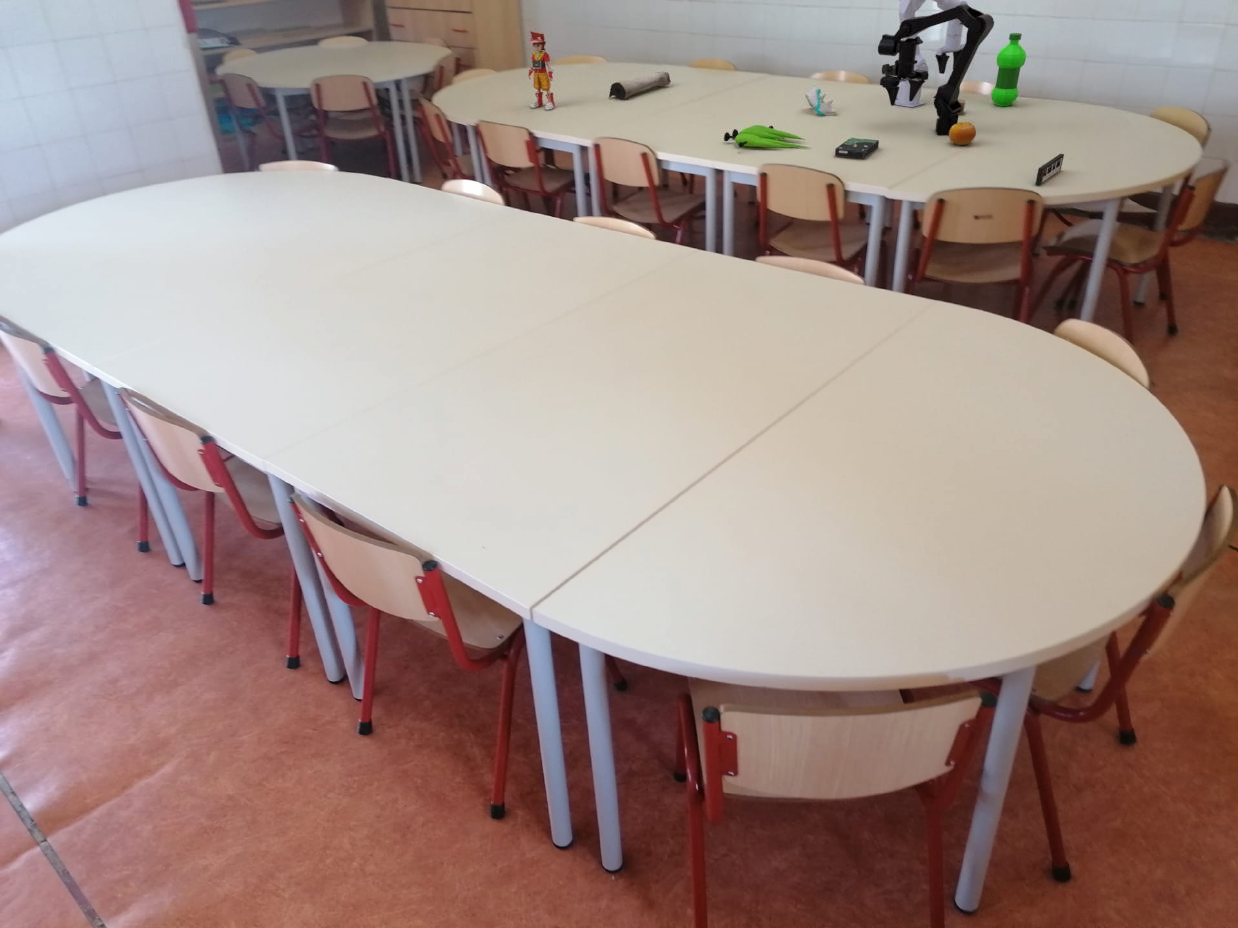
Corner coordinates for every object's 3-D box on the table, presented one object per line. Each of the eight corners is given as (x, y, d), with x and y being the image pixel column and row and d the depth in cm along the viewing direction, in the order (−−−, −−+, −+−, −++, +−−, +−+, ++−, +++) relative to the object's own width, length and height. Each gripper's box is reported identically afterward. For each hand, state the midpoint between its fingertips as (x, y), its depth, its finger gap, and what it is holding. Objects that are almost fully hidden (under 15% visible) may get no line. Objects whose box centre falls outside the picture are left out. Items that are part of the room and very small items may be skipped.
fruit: (944, 129, 311) (958, 112, 304) (966, 137, 313) (980, 120, 306) (944, 146, 307) (958, 129, 300) (966, 154, 309) (980, 138, 302)
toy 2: (713, 146, 317) (792, 161, 304) (715, 131, 314) (794, 145, 301) (747, 132, 337) (821, 146, 325) (748, 118, 334) (824, 131, 322)
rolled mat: (651, 76, 408) (662, 61, 399) (662, 93, 408) (674, 79, 400) (605, 92, 391) (616, 77, 383) (617, 110, 391) (628, 95, 383)
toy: (525, 109, 381) (517, 32, 364) (534, 104, 388) (527, 28, 371) (550, 110, 377) (543, 32, 360) (559, 105, 384) (553, 28, 367)
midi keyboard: (1039, 185, 269) (1043, 168, 266) (1035, 184, 270) (1038, 168, 267) (1060, 170, 279) (1064, 154, 277) (1056, 169, 280) (1060, 153, 277)
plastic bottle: (1022, 104, 346) (1036, 33, 332) (1005, 109, 342) (1018, 37, 328) (1000, 100, 353) (1012, 30, 339) (983, 104, 349) (995, 34, 335)
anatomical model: (800, 85, 355) (825, 78, 354) (804, 112, 360) (828, 105, 360) (810, 94, 342) (836, 87, 341) (813, 121, 348) (839, 114, 347)
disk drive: (864, 160, 299) (878, 148, 309) (864, 151, 297) (879, 139, 307) (834, 157, 304) (849, 145, 314) (835, 148, 302) (850, 136, 312)
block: (963, 112, 342) (965, 99, 340) (962, 115, 339) (964, 103, 336) (950, 111, 344) (952, 99, 341) (949, 114, 340) (951, 102, 338)
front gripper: (908, 50, 327) (903, 95, 336) (871, 58, 320) (866, 104, 329) (932, 54, 319) (926, 100, 328) (894, 62, 312) (888, 109, 321)
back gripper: (959, 31, 355) (953, 67, 363) (932, 36, 350) (927, 73, 358) (973, 33, 350) (967, 70, 358) (946, 38, 345) (941, 76, 352)
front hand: (901, 103), depth 327 cm, fingers open, 9 cm apart
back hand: (948, 72), depth 357 cm, fingers open, 7 cm apart
